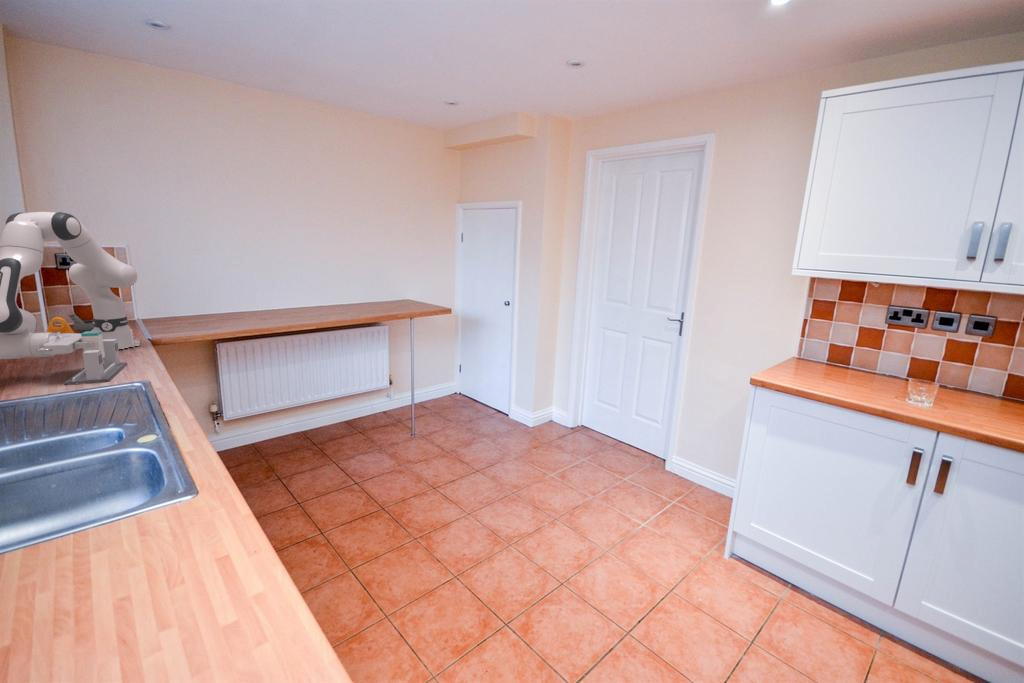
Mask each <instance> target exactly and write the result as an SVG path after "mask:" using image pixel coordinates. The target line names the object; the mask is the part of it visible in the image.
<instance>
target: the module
mask: <svg viewBox="0 0 1024 683" xmlns="http://www.w3.org/2000/svg"><path fill="white" fill-rule="evenodd" d="M81 337H82V342H94V346H93V347H86V348H82V349H83V352H85V351H88V350H101V354H102V359H103V358H104V357H105V353H104V346H103V339H102V332H101V331H85V332H83V333H82V334H81Z"/></svg>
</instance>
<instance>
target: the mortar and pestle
mask: <svg viewBox="0 0 1024 683" xmlns="http://www.w3.org/2000/svg"><path fill="white" fill-rule="evenodd" d="M67 316H68V318H70V319H71V320H72V321H73V327H74V330H76V332H78V333H80V334H82V333H83V332H85V331H91V330H93V329H94V326H93V320H82V319H81V318H80V317H79V316H78V315H76V313H75V312H72V313H70V314H68V315H67Z"/></svg>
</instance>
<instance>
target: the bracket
mask: <svg viewBox="0 0 1024 683" xmlns="http://www.w3.org/2000/svg"><path fill="white" fill-rule="evenodd" d="M55 322H59V323H61V325H57V324H55ZM50 332H51V333H52V332H60V333H61V334H62V333H75V332H74V331H73V329H72V327H71V326H70V325H69V323H68V322H67V321H66V319H65V318H63V317H59V316H56V317H53V318H52V319H50V320H49V323H48V326H47V330H46V332H45V333H50Z"/></svg>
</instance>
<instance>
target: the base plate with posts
mask: <svg viewBox="0 0 1024 683" xmlns="http://www.w3.org/2000/svg"><path fill="white" fill-rule="evenodd" d="M103 346H104V353H105V357H104V358H102V354H101V350H88V351H85V352H84V351H82V358H83V364H84V365H83V366H84V367H83V368H82V369H81V370H79V371H78V372H76V373H75V374H73V375H72V376H71V377H69V378H68V379H67V380H65V381H64V382H63V384H64V386H66V385H65V384H73V385H77V384H76V383H86V384H95V383H94V382H99V383H108V382H110V381H111V380H113V378H114V377H116V376H117V375H118V374H119V373H120V372H121V371H122V370H123V369H124V368H126V367H127V365H128V363H127V361H124V362H123V361H122V362H121V360H120V350H119V349H118V343H117V339H104V340H103Z"/></svg>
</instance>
